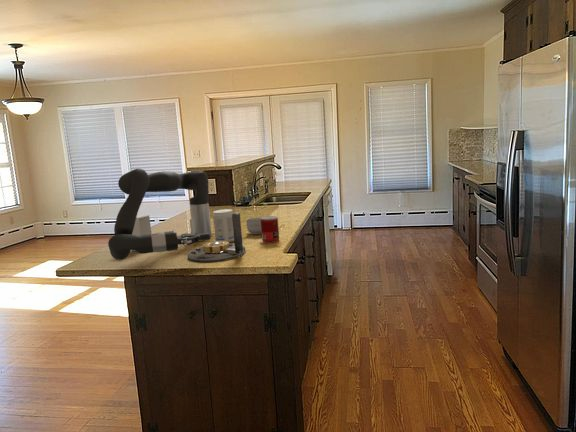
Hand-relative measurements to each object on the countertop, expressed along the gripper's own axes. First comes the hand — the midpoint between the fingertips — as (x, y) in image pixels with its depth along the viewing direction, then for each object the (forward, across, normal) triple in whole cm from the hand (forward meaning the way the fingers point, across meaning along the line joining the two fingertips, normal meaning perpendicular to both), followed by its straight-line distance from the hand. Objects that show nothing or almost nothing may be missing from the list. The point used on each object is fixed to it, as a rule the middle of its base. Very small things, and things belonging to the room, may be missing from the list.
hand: (209, 236), depth 182 cm
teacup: (+30, +43, +10) cm, 54 cm away
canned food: (+30, +23, +10) cm, 40 cm away
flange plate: (+4, +10, +10) cm, 15 cm away
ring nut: (+6, +7, +8) cm, 12 cm away
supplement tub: (+11, +35, +10) cm, 38 cm away
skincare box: (-27, +41, +10) cm, 50 cm away
